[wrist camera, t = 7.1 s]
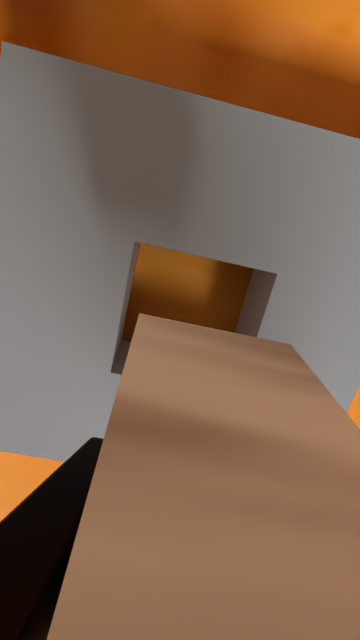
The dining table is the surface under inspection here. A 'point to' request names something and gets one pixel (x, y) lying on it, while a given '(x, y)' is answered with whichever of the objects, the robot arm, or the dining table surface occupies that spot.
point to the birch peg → (217, 499)
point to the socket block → (156, 233)
